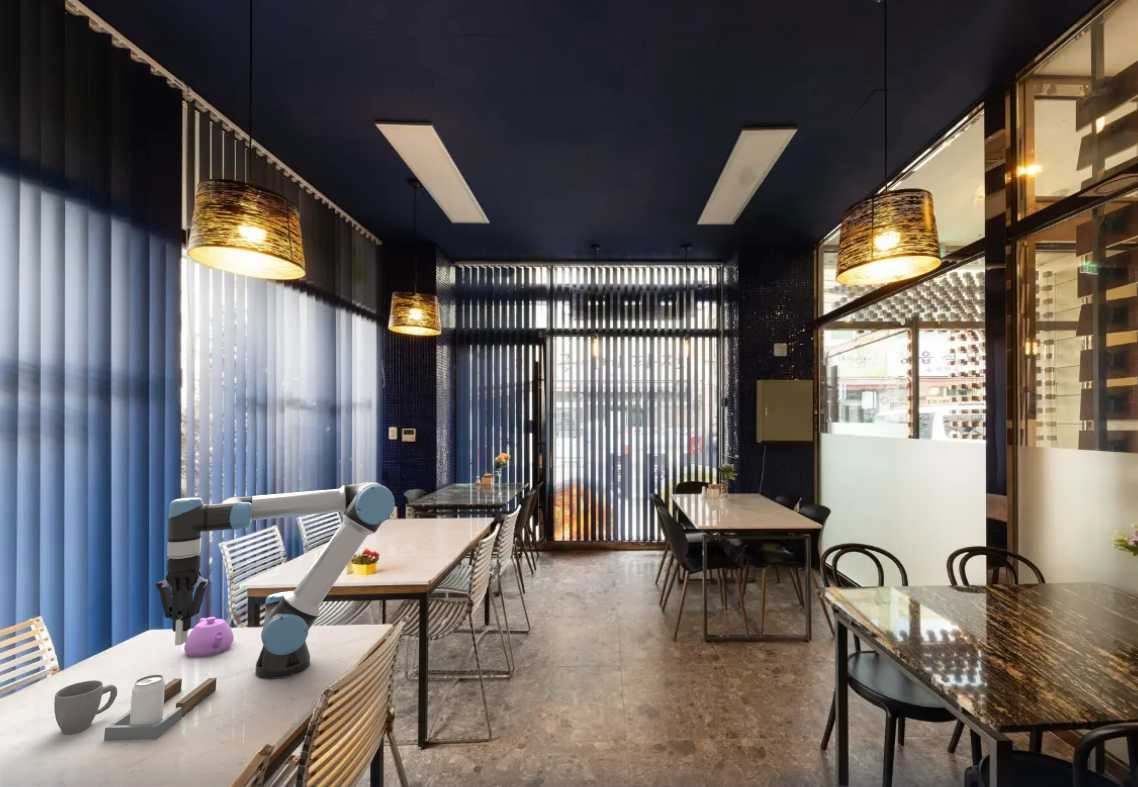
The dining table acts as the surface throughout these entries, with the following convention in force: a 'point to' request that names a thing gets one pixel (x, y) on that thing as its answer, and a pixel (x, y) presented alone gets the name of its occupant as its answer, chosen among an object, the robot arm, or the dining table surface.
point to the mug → (80, 705)
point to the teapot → (209, 638)
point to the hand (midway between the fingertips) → (181, 643)
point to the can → (147, 700)
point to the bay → (140, 728)
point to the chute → (193, 697)
